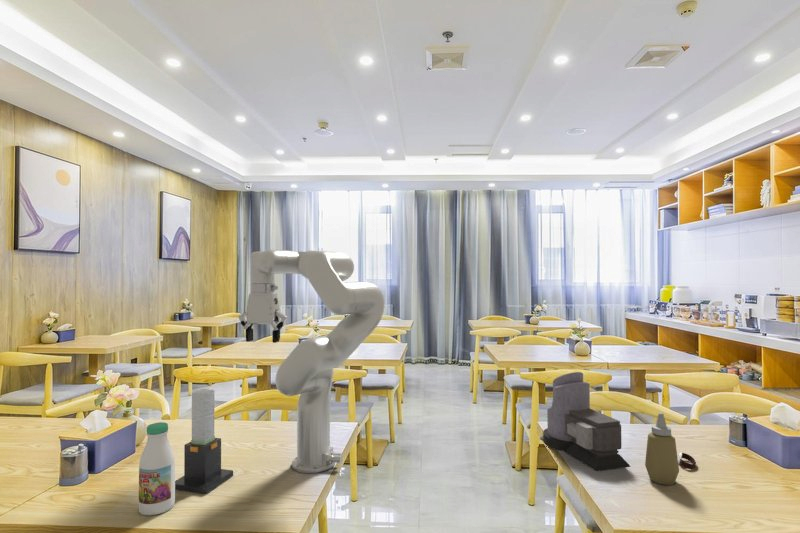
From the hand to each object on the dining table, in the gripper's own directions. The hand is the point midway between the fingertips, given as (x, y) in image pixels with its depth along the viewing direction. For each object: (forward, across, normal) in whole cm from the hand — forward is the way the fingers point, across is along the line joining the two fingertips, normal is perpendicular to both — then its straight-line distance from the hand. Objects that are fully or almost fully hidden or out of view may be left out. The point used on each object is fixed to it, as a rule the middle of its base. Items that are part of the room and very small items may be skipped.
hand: (262, 341), depth 147 cm
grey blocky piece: (+35, -99, -24) cm, 108 cm away
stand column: (+27, +2, +26) cm, 37 cm away
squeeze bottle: (+34, -118, -6) cm, 123 cm away
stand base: (+34, +2, +26) cm, 43 cm away
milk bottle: (+34, +4, +40) cm, 53 cm away
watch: (+35, -128, -19) cm, 134 cm away
